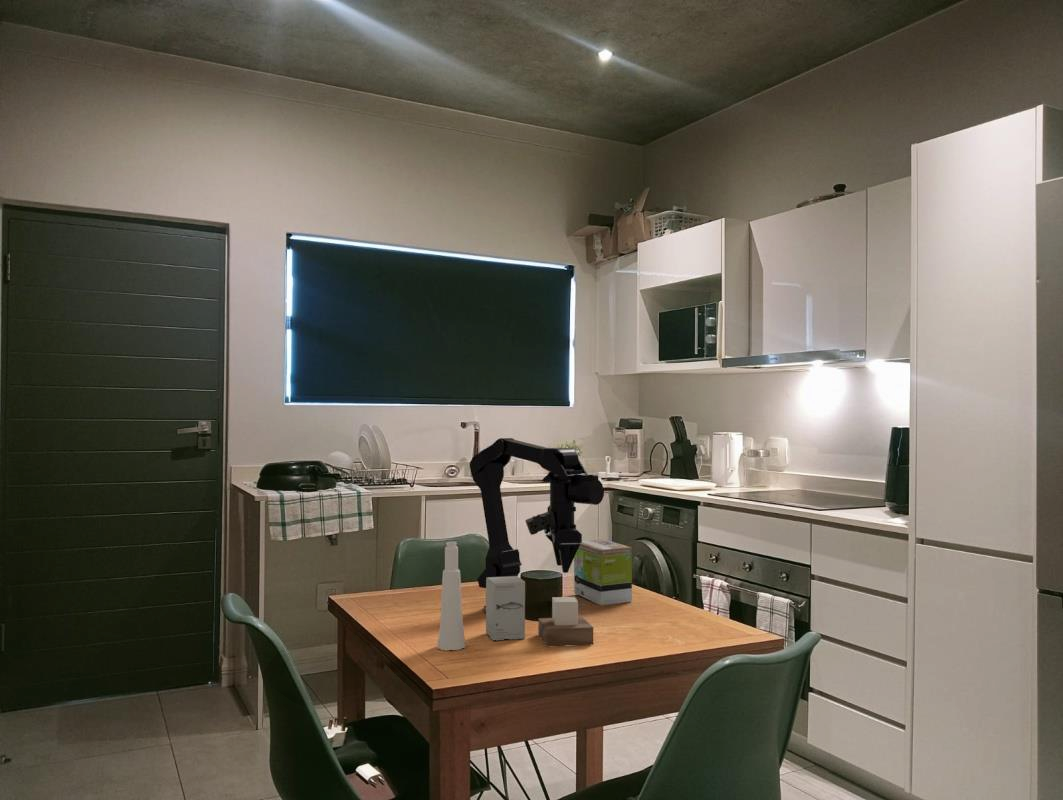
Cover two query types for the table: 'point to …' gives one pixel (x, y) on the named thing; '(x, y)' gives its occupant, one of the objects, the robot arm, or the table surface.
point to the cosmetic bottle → (451, 603)
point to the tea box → (603, 572)
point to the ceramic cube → (564, 611)
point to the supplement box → (505, 608)
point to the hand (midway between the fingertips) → (562, 568)
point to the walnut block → (565, 633)
